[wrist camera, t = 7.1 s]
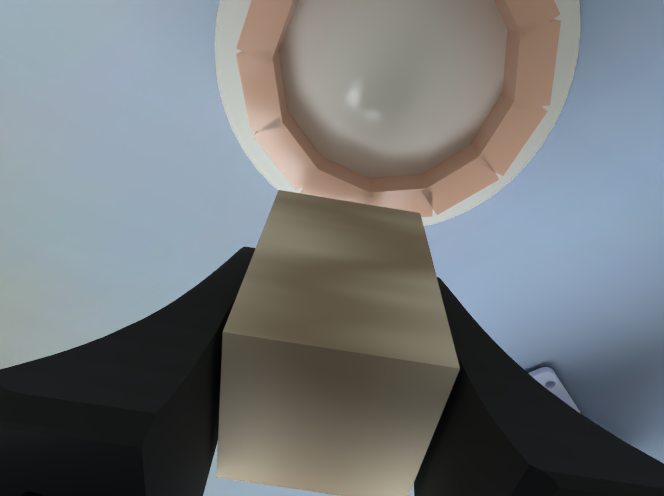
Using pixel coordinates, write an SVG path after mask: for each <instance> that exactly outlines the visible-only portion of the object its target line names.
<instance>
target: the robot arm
mask: <svg viewBox="0 0 664 496" xmlns="http://www.w3.org/2000/svg"><path fill="white" fill-rule="evenodd" d="M255 249H256V248H250V247H243V248H241V249H240V250H239V251H238V252H236V253H235V254H234V255H233V256H232V257H231V258H230V259H229V260H227V261H226V262H225V263H224V264H223V265H222V266H220V267H219V268H218V269H217V270H216V271H214V272H213V273H212V274H211V275H209V276H208V277H207V278H206V279H204V280H203V281H202V282H201V283H199V284H198V285H197V286H195V287H194V288H192V289H191V290H190V291H188V292H187V293H185V294H184V295H182V296H181V297H179V298H178V299H177V300H175V301H174V302H172V303H170V304H169V305H167V306H166V307H164V308H162V309H160V310H159V311H157V312H155V313H153V314H151V315H150V316H148V317H146V318H144V319H142V320H140V321H138V322H136V323H133V324H131V325H129V326H127V327H125V328H123V329H120V330H118V331H116V332H114V333H112V334H109V335H107V336H105V337H102V338H100V339H97V340H94V341H92V342H89V343H87V344H84V345H81V346H78V347H75V348H73V349H70V350H67V351H64V352H61V353H58V354H54V355H51V356H48V357H44V358H41V359H37V360H34V361H30V362H26V363H23V364H19V365H16V366H12V367H8V368H4V369H0V496H203V493H204V489H205V486H206V482H207V478H208V474H209V471H210V467H211V463H212V459H213V456H214V452H215V449H216V445H217V441H218V431H219V408H220V384H221V360H222V337H223V330H224V327H225V325H226V322H227V320H228V317H229V315H230V312H231V310H232V307H233V305H234V302H235V300H236V297H237V295H238V292H239V289H240V287H241V284H242V282H243V279H244V277H245V274H246V272H247V269H248V267H249V264H250V262H251V259H252V257H253V254H254V252H255ZM437 281H438V285H439V288H440V292H441V296H442V300H443V304H444V308H445V312H446V316H447V320H448V324H449V327H450V331H451V335H452V339H453V343H454V347H455V351H456V355H457V359H458V363H459V367H460V370H459V372H458V375H457V377H456V380H455V382H454V385H453V387H452V390H451V392H450V394H449V397H448V399H447V402H446V404H445V407H444V409H443V412H442V414H441V417H440V419H439V422H438V424H437V427H436V429H435V432H434V434H433V436H432V439H431V441H430V444H429V446H428V449H427V451H426V454H425V456H424V459H423V461H422V464H421V466H420V469H419V471H418V474H417V476H416V478H415V481H414V494H415V496H664V464H663V463H662V462H660V461H658V460H656V459H654V458H653V457H651V456H649V455H647V454H645V453H644V452H642V451H640V450H638V449H637V448H635V447H633V446H631V445H629V444H628V443H626V442H624V441H622V440H621V439H619V438H617V437H616V436H614V435H613V434H611V433H610V432H608V431H606V430H605V429H603V428H602V427H600V426H599V425H597V424H595V423H594V422H592V421H591V420H589V419H588V418H586V417H585V416H583V415H582V414H581V412H580V411H579V409H578V408H577V406H576V404H575V403H574V401H573V400H572V398H571V397H570V395H569V394H568V392H567V391H566V389H565V388H564V386H563V384H562V383H561V381H560V380H559V378H558V377H557V375H556V374H555V372H554V371H553V370H552V369H551V368H549V367H542V368H539V369H537V370H534V371H532V372H529V373H527V372H526V371H525V370H524V369H523V368H522V367H520V366H519V365H518V364H517V363H516V362H515V361H514V360H513V359H512V358H510V357H509V356H508V355H507V354H506V353H505V352H504V351H503V350H502V349H501V348H500V347H499V346H498V345H497V344H496V343H495V342H494V341H493V340H492V338H491V337H490V336H489V335H488V334H487V333H486V332H485V331H484V330H483V329H482V328H481V327H480V325H479V324H478V323H477V322H476V321H475V320H474V319H473V317H472V316H471V315H470V314H469V313H468V312H467V310H466V309H465V308H464V307H463V306H462V304H461V303H460V302H459V301H458V300H457V298H456V297H455V296H454V295H453V293H452V292H451V291H450V290H449V288H448V287H447V286H446V285H445V284H444V282H443V281H442V280H441V279H440V278H438V277H437ZM549 381H551V382H549ZM547 382H548V383H547Z"/></svg>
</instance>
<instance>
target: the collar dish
mask: <svg viewBox="0 0 664 496" xmlns="http://www.w3.org/2000/svg"><path fill="white" fill-rule="evenodd" d="M580 31H581V22H580V0H220V3H219V7H218V12H217V19H216V30H215V67H216V73H217V80H218V87H219V91H220V95H221V99H222V102H223V106H224V110H225V113H226V115H227V118H228V120H229V122H230V125H231V127H232V130H233V132H234V134H235V136H236V138H237V140H238V141H239V143H240V145H241V147H242V148H243V150H244V152H245V153H246V155H247V156H248V158H249V159H250V160H251V162H252V163H253V164H254V166H255V167H256V169H257V170H258V171H259V172H260V173H261V174H262V175H263V176H264V177H265V178H266V179H267V181H268V182H269V183H270V184H271V185H272V186H274V187H275V188H276V189H277V190H278V191H279V190H283V191H289V192H295V193H301V194H307V195H313V196H319V197H325V198H332V199H338V200H344V201H350V202H356V203H362V204H368V205H374V206H380V207H387V208H393V209H399V210H405V211H411V212H417V213H420V214H421V218H422V222H423V226H428V225H432V224H436V223H439V222H442V221H445V220H447V219H450V218H453V217H456V216H458V215H460V214H462V213H464V212H466V211H468V210H470V209H472V208H474V207H476V206H477V205H479V204H481V203H482V202H484V201H485V200H487V199H488V198H490V197H492V196H493V195H494V194H496V193H497V192H498V191H499V190H501V189H502V188H503V187H504V186H506V185H507V184H508V183H509V182H511V181H512V179H513V178H514V177H515V176H516V175H517V174H518V173H519V172H520V171H521V170H522V169H523V168H524V167H525V166H526V165H527V164H528V163H529V162H530V160H531V159H532V158H533V157H534V155H535V154H536V153H537V152H538V150H539V149H540V148H541V146H542V145H543V143H544V142H545V140H546V138H547V137H548V135H549V134H550V132H551V131H552V129H553V127H554V125H555V123H556V121H557V119H558V117H559V115H560V113H561V111H562V109H563V107H564V105H565V102H566V99H567V96H568V93H569V90H570V87H571V84H572V81H573V78H574V73H575V68H576V64H577V59H578V54H579V42H580Z"/></svg>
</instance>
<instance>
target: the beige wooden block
mask: <svg viewBox="0 0 664 496" xmlns="http://www.w3.org/2000/svg"><path fill="white" fill-rule="evenodd" d="M459 370H460V367H459V363H458V359H457V355H456V351H455V347H454V343H453V339H452V335H451V331H450V327H449V324H448V320H447V316H446V312H445V308H444V304H443V300H442V296H441V292H440V288H439V285H438V281H437V277H436V273H435V269H434V265H433V261H432V257H431V253H430V249H429V246H428V242H427V238H426V234H425V230H424V226H423V222H422V218H421V214H420V213H417V212H411V211H405V210H399V209H393V208H387V207H380V206H374V205H368V204H362V203H356V202H350V201H344V200H338V199H332V198H325V197H319V196H313V195H307V194H301V193H295V192H289V191H283V190H279V191H278V193H277V196H276V198H275V201H274V203H273V206H272V208H271V211H270V214H269V216H268V219H267V221H266V224H265V226H264V229H263V231H262V234H261V236H260V239H259V241H258V244H257V246H256V249H255V252H254V254H253V257H252V259H251V262H250V264H249V267H248V269H247V272H246V274H245V277H244V279H243V282H242V284H241V287H240V289H239V292H238V295H237V297H236V300H235V302H234V305H233V307H232V310H231V312H230V315H229V317H228V320H227V322H226V325H225V327H224V330H223V337H222V360H221V384H220V408H219V431H218V455H217V478H223V479H230V480H236V481H243V482H250V483H257V484H264V485H271V486H278V487H285V488H292V489H299V490H306V491H313V492H320V493H326V494H333V495H340V496H409V493H410V491H411V488H412V486H413V483H414V481H415V478H416V476H417V474H418V471H419V469H420V466H421V464H422V461H423V459H424V456H425V454H426V451H427V449H428V446H429V444H430V441H431V439H432V436H433V434H434V432H435V429H436V427H437V424H438V422H439V419H440V417H441V414H442V412H443V409H444V407H445V404H446V402H447V399H448V397H449V394H450V392H451V390H452V387H453V385H454V382H455V380H456V377H457V375H458V372H459Z"/></svg>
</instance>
